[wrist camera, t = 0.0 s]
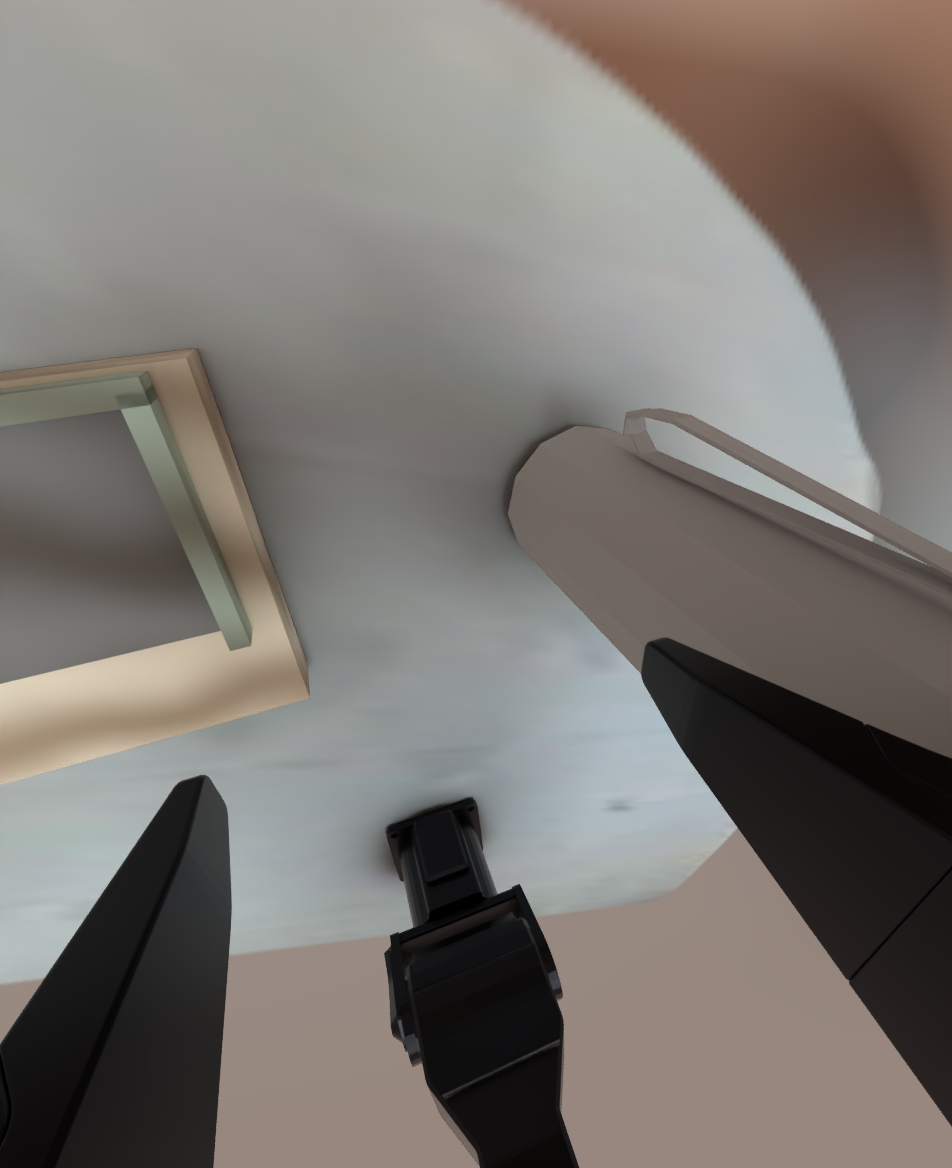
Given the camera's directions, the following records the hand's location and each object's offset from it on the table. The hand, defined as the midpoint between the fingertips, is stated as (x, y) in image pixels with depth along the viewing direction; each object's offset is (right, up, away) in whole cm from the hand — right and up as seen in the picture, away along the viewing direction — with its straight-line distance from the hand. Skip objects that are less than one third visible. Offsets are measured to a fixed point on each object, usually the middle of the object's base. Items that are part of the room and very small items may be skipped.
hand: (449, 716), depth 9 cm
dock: (-15, +3, +11) cm, 19 cm away
